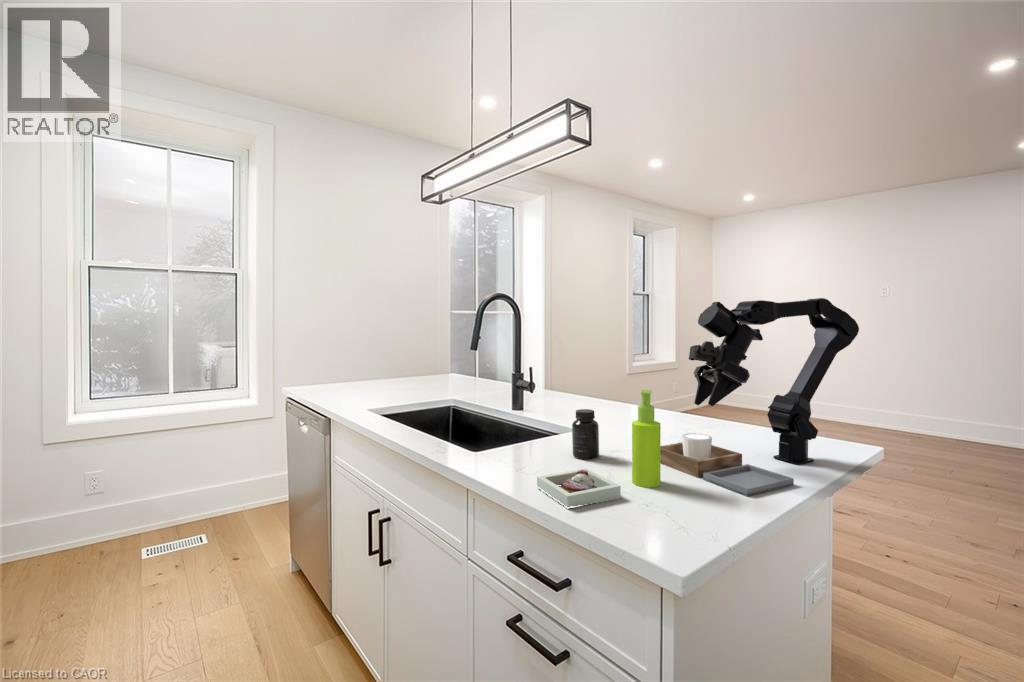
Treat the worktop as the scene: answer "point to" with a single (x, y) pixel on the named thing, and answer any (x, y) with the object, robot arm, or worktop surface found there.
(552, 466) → the worktop surface
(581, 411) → the supplement bottle
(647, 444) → the soap dispenser
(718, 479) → the charcoal tray
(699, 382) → the robot arm
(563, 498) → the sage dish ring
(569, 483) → the pastry
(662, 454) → the walnut bin
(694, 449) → the white tapered cup
